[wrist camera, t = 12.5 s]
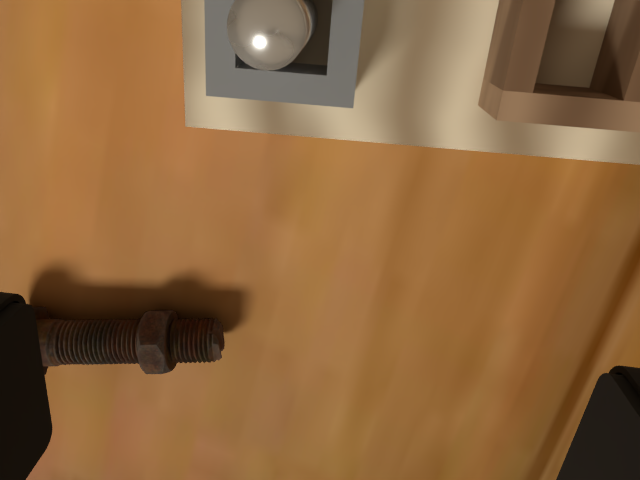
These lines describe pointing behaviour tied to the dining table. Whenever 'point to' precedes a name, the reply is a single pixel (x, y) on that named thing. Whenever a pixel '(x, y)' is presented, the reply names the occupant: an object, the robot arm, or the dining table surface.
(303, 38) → the metal peg
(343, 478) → the dining table surface
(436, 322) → the dining table surface
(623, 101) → the socket board
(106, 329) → the bolt
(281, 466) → the dining table surface
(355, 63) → the gray square socket
